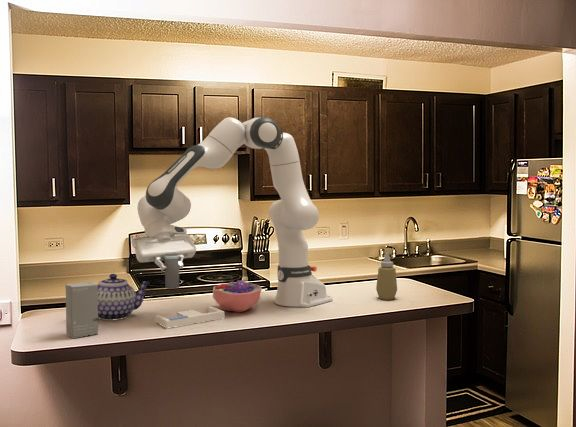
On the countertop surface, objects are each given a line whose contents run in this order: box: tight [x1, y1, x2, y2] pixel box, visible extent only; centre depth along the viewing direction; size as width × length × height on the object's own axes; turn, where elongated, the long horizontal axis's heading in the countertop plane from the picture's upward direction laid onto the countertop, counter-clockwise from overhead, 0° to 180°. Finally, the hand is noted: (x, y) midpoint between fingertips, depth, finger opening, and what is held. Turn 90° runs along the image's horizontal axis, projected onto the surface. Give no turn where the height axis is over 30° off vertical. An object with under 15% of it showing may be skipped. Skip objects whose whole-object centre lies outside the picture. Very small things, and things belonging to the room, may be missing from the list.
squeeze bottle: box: [375, 252, 398, 301], centre depth 230 cm, size 8×8×18 cm
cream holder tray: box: [155, 306, 226, 329], centre depth 199 cm, size 21×8×3 cm, turn 125°
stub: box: [164, 253, 180, 290], centre depth 195 cm, size 5×5×11 cm
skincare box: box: [64, 282, 99, 339], centre depth 184 cm, size 8×7×16 cm
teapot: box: [97, 273, 151, 321], centre depth 205 cm, size 25×15×15 cm, turn 110°
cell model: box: [212, 279, 263, 313], centre depth 213 cm, size 17×20×11 cm
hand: (172, 268), depth 195 cm, fingers closed on stub, 4 cm apart
